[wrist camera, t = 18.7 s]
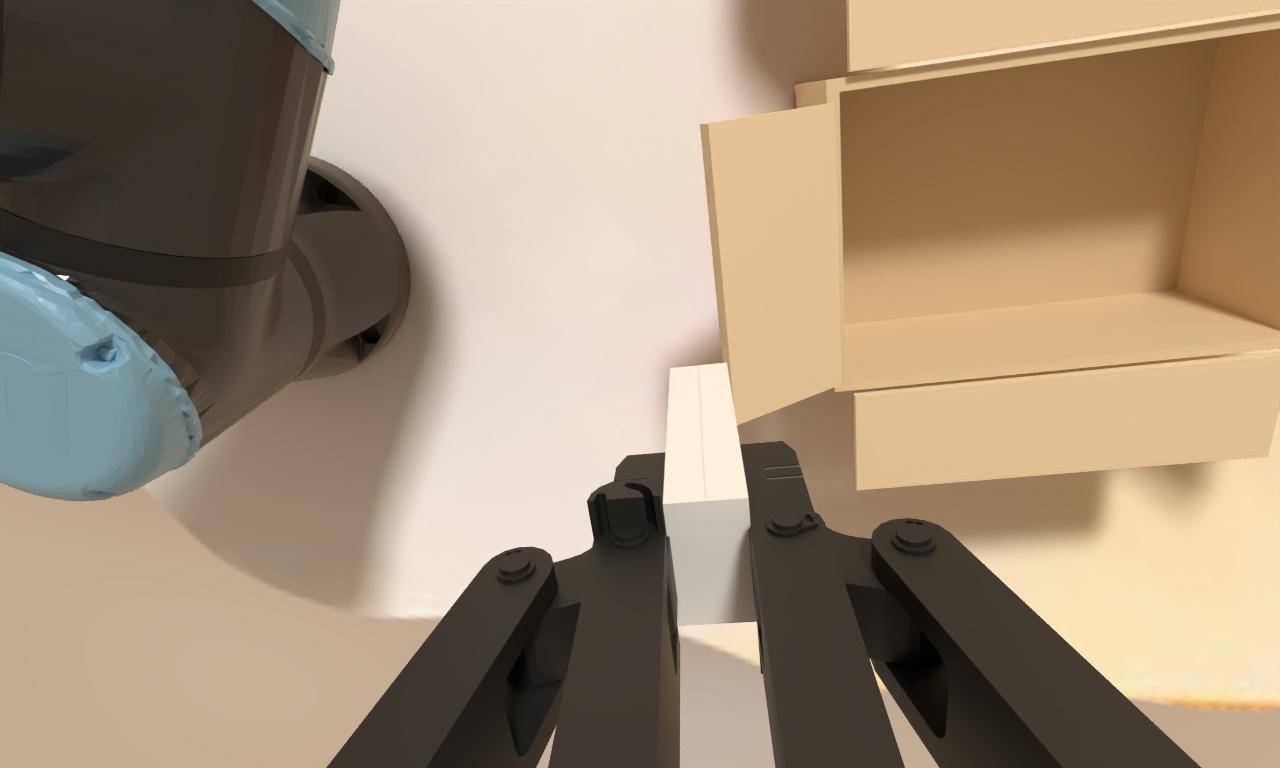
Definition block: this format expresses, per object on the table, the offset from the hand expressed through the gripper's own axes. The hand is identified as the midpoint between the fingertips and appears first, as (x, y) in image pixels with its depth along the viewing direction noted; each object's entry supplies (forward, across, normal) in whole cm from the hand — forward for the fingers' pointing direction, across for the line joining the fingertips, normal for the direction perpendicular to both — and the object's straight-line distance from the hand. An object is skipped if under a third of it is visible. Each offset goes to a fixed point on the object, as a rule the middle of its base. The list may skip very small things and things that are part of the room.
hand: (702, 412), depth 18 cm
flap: (+18, +7, 0) cm, 19 cm away
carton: (+29, +19, 0) cm, 34 cm away
